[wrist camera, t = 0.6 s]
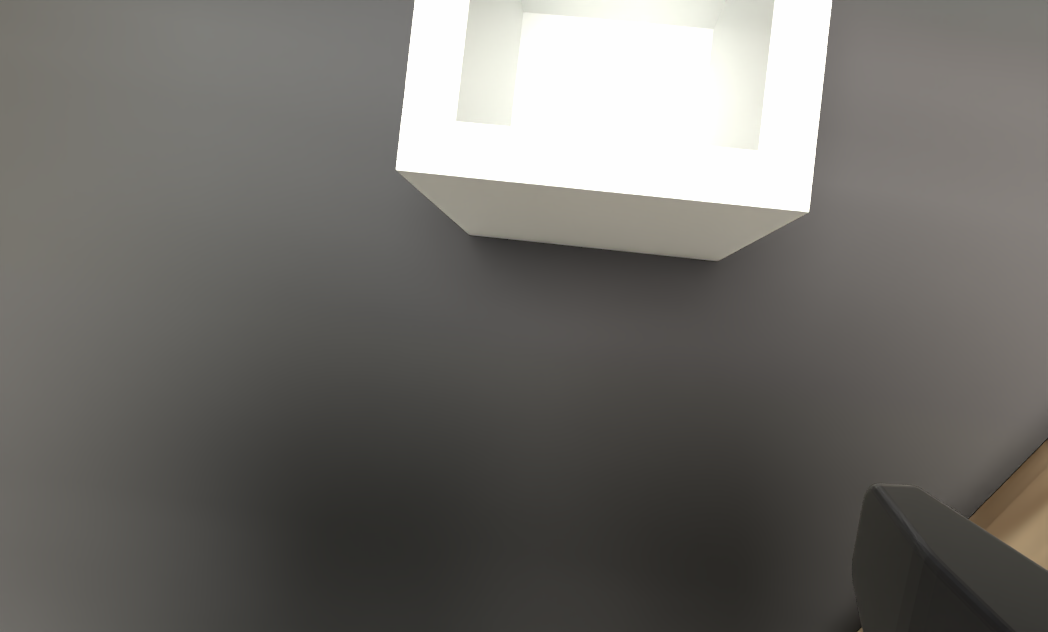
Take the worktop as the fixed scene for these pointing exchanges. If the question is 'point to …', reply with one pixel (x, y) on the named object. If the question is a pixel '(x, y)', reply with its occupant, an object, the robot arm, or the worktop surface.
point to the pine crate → (1021, 509)
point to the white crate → (616, 119)
